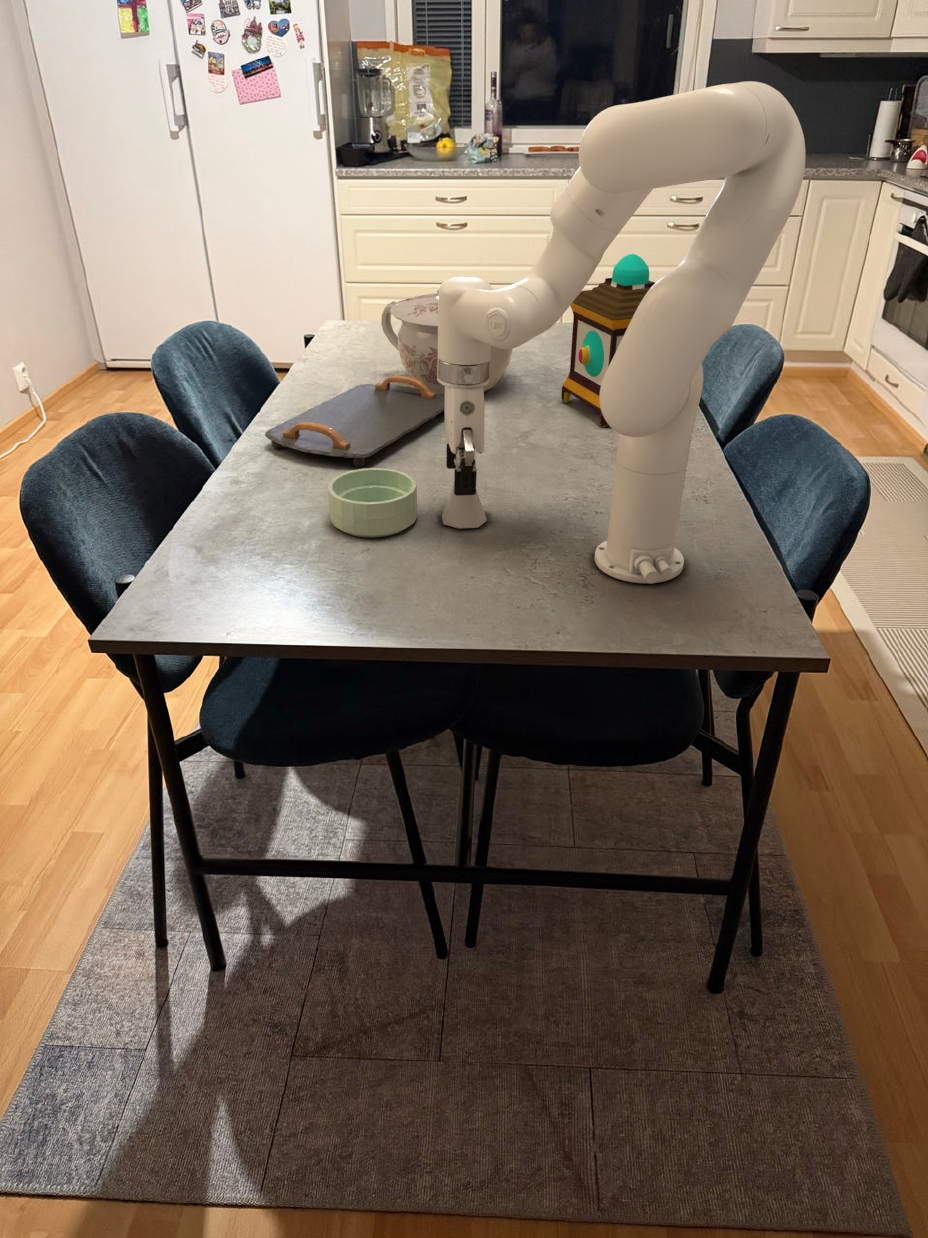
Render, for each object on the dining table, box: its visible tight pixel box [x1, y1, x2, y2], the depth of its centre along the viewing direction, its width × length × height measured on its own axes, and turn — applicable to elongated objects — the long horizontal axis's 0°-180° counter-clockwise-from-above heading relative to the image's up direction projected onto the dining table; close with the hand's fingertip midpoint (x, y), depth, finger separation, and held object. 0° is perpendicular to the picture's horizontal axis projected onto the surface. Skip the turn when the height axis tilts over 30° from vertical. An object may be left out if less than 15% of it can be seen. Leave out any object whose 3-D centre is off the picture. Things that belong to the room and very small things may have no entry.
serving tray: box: [264, 375, 445, 469], centre depth 173 cm, size 39×23×6 cm, turn 152°
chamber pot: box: [380, 292, 514, 397], centre depth 191 cm, size 28×28×21 cm
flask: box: [441, 456, 488, 529], centre depth 139 cm, size 7×7×10 cm
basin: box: [327, 467, 418, 538], centre depth 139 cm, size 13×13×6 cm
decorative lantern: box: [560, 253, 656, 428], centre depth 177 cm, size 20×20×30 cm
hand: (460, 480), depth 138 cm, fingers open, 9 cm apart
